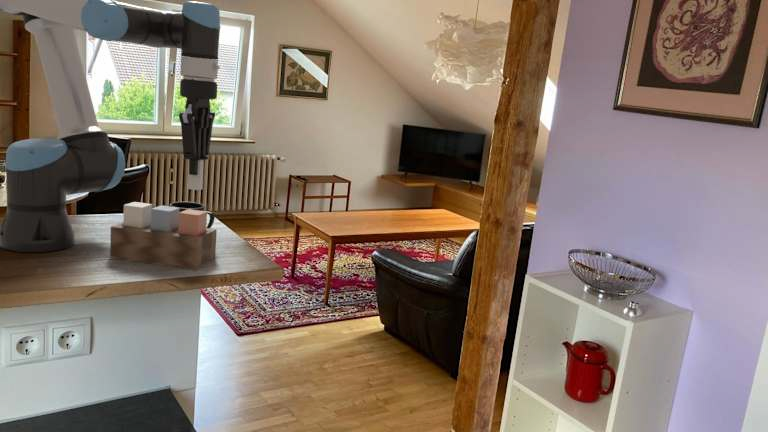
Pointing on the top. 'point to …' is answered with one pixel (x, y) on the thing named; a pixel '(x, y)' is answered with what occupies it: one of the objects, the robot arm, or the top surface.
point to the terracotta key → (192, 222)
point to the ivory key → (137, 214)
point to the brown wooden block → (162, 246)
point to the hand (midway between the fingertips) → (195, 189)
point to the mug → (193, 206)
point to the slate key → (165, 218)
